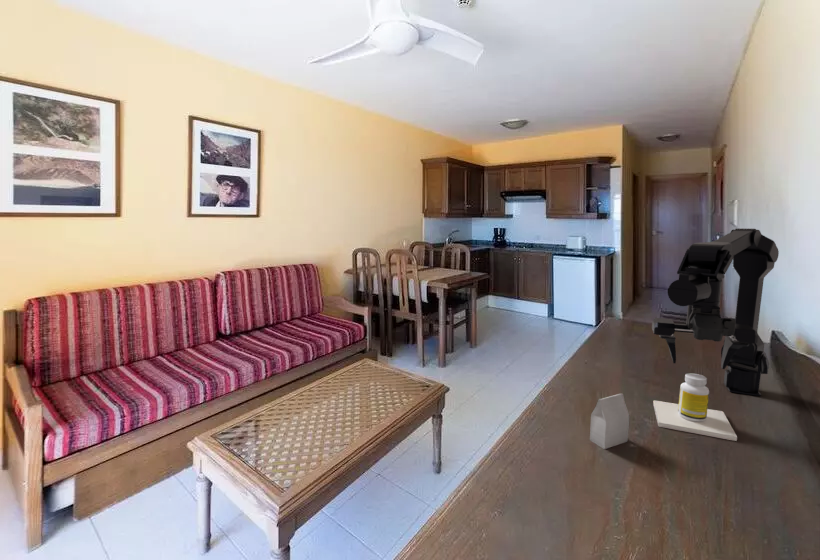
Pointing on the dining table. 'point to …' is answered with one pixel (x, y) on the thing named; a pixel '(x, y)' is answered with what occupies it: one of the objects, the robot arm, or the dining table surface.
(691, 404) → the supplement bottle
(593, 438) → the milk carton
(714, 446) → the dining table surface
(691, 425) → the ceramic tile
